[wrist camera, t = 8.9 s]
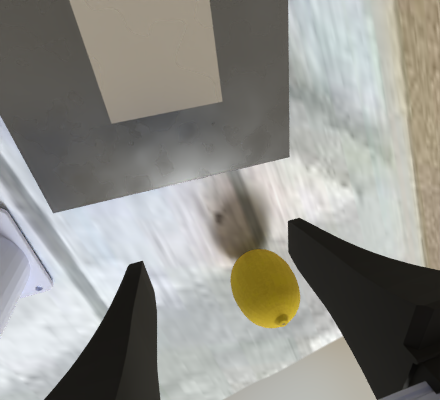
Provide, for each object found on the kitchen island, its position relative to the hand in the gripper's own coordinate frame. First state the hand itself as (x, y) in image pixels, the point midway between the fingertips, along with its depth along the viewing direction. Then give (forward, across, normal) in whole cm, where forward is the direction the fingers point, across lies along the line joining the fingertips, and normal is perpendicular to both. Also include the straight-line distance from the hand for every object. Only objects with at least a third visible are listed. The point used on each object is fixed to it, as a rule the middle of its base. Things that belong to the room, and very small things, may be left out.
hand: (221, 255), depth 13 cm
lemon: (+10, -4, +10) cm, 15 cm away
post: (+6, +1, -9) cm, 11 cm away
